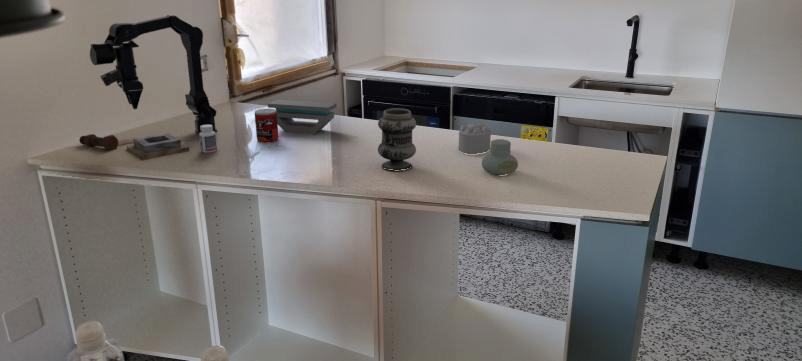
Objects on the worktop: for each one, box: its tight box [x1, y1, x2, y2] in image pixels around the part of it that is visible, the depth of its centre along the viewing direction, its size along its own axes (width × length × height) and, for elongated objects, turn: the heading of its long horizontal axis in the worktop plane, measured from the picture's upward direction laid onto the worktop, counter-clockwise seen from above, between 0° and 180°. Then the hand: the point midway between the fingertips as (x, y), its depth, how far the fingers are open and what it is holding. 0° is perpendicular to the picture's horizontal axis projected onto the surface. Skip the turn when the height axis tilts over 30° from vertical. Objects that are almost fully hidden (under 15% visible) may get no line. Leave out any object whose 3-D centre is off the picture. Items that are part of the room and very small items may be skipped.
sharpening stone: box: [267, 99, 337, 136], centre depth 230 cm, size 25×8×11 cm, turn 73°
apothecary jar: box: [377, 107, 417, 170], centre depth 186 cm, size 12×12×18 cm
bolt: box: [78, 133, 119, 152], centre depth 211 cm, size 6×5×15 cm
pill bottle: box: [198, 125, 218, 154], centre depth 205 cm, size 5×5×9 cm
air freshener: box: [481, 138, 519, 176], centre depth 182 cm, size 11×8×10 cm
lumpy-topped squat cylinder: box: [458, 122, 492, 154], centre depth 205 cm, size 10×13×9 cm
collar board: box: [126, 132, 190, 160], centre depth 208 cm, size 16×16×4 cm
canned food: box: [254, 108, 279, 144], centre depth 217 cm, size 8×8×11 cm
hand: (133, 106), depth 209 cm, fingers open, 9 cm apart
